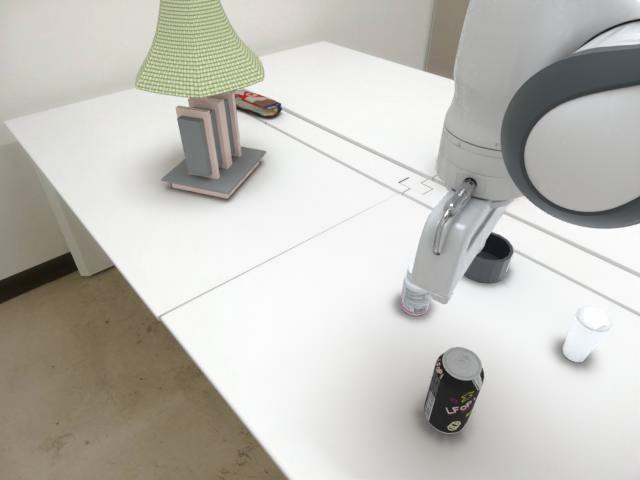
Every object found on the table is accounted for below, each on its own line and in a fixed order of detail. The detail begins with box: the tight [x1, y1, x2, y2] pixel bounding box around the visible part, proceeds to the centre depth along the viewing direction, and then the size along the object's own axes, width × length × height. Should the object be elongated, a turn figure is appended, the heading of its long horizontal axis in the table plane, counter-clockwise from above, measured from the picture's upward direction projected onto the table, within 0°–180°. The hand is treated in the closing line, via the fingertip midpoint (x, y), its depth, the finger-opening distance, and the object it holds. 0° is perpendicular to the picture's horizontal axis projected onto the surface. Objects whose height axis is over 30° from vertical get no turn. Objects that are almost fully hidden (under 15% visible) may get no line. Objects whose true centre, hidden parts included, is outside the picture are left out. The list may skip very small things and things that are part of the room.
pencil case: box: [234, 89, 283, 117], centre depth 137 cm, size 11×20×5 cm, turn 40°
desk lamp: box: [134, 0, 267, 200], centre depth 97 cm, size 26×28×40 cm
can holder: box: [463, 231, 515, 284], centre depth 83 cm, size 9×9×5 cm
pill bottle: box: [399, 261, 432, 316], centre depth 74 cm, size 5×5×8 cm
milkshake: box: [561, 304, 613, 363], centre depth 66 cm, size 4×5×10 cm
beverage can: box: [423, 346, 485, 435], centre depth 57 cm, size 6×6×12 cm
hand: (458, 271), depth 49 cm, fingers open, 8 cm apart
